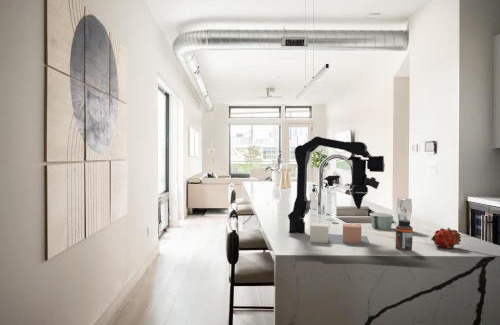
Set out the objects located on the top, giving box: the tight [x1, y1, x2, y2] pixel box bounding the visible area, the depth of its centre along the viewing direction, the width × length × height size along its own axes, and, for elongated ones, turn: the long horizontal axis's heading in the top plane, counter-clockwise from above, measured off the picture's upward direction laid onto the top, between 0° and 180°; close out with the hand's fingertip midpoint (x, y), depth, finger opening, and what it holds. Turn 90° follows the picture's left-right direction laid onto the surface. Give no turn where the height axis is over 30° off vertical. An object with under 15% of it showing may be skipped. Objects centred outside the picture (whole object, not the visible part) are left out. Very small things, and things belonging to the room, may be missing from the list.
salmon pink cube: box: [342, 223, 362, 243], centre depth 170 cm, size 7×7×6 cm
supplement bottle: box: [395, 220, 414, 252], centre depth 157 cm, size 6×6×11 cm
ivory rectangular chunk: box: [309, 222, 330, 244], centre depth 169 cm, size 7×7×6 cm
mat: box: [308, 233, 371, 247], centre depth 173 cm, size 24×21×1 cm
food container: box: [369, 212, 395, 230], centre depth 207 cm, size 12×12×6 cm
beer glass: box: [396, 197, 413, 226], centre depth 201 cm, size 7×7×15 cm
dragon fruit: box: [430, 227, 462, 249], centre depth 162 cm, size 8×8×12 cm
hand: (357, 207), depth 177 cm, fingers open, 9 cm apart
